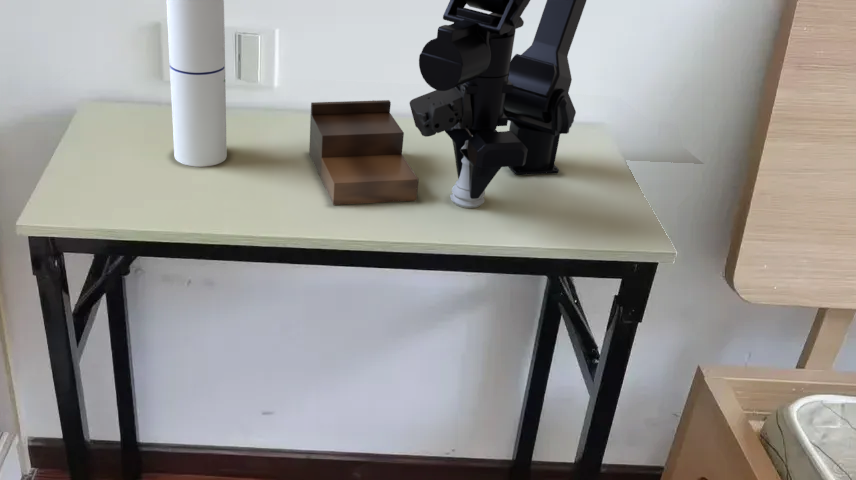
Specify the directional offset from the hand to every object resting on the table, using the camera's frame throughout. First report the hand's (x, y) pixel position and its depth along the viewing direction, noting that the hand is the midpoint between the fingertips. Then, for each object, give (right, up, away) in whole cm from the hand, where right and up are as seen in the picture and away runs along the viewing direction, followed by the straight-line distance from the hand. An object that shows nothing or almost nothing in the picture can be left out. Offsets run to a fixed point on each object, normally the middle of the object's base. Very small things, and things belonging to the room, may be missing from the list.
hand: (468, 190), depth 124 cm
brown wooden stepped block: (-14, +3, +6) cm, 15 cm away
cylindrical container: (-36, +6, +9) cm, 37 cm away
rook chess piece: (0, -1, +1) cm, 2 cm away
